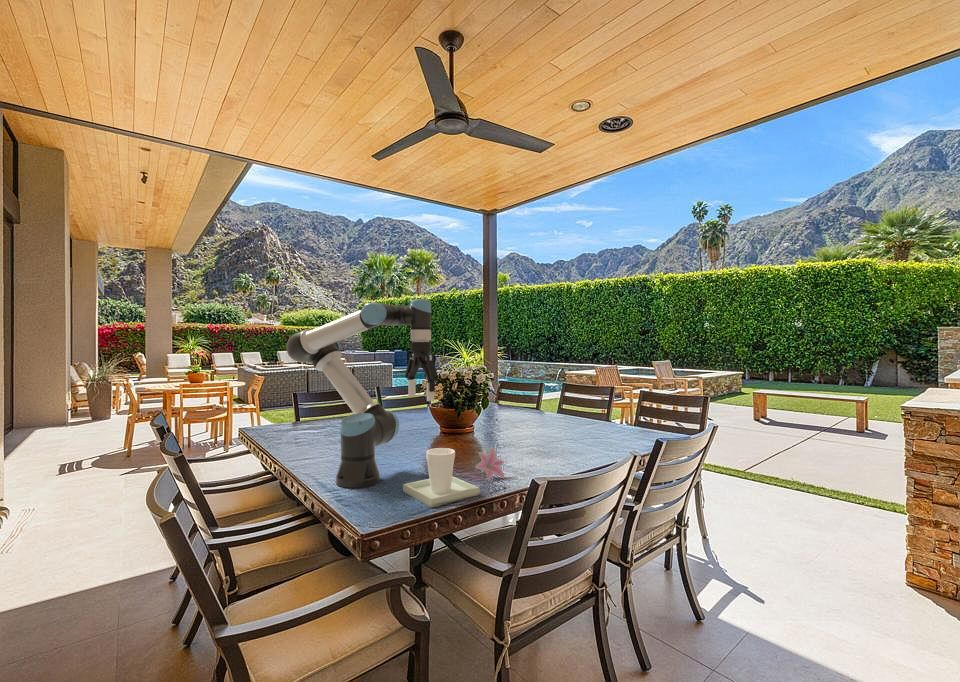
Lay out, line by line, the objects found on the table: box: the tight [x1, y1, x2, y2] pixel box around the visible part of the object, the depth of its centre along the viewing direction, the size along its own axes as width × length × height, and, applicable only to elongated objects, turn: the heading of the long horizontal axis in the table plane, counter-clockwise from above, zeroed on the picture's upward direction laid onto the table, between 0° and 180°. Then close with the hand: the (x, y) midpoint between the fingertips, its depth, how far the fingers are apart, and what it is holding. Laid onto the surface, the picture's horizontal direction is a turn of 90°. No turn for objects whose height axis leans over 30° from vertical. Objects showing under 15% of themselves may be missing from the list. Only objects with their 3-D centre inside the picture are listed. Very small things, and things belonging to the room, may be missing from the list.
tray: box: [402, 475, 480, 508], centre depth 151 cm, size 18×18×2 cm
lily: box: [475, 446, 505, 481], centre depth 170 cm, size 12×12×10 cm
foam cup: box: [425, 447, 456, 494], centre depth 151 cm, size 10×9×13 cm
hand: (421, 398), depth 170 cm, fingers open, 13 cm apart
